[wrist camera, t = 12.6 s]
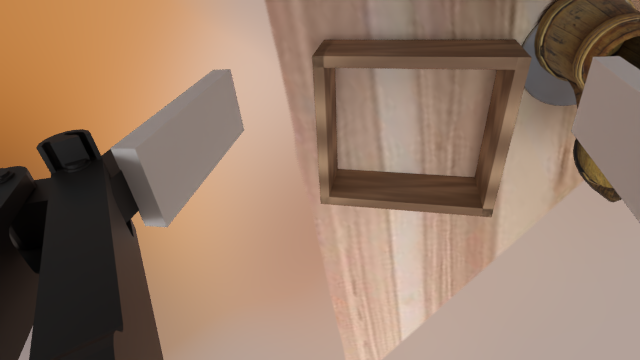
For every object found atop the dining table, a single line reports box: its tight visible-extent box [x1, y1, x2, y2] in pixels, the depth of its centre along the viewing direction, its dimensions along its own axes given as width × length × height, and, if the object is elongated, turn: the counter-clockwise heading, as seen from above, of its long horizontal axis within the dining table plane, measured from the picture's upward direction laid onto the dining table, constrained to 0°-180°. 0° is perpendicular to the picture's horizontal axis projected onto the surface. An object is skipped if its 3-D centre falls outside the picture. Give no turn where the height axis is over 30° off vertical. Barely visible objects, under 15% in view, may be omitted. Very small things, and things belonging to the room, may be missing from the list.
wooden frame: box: [312, 40, 532, 217], centre depth 46 cm, size 19×21×7 cm
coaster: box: [522, 22, 576, 106], centre depth 41 cm, size 11×11×1 cm
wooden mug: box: [534, 0, 640, 202], centre depth 34 cm, size 9×14×18 cm, turn 175°
